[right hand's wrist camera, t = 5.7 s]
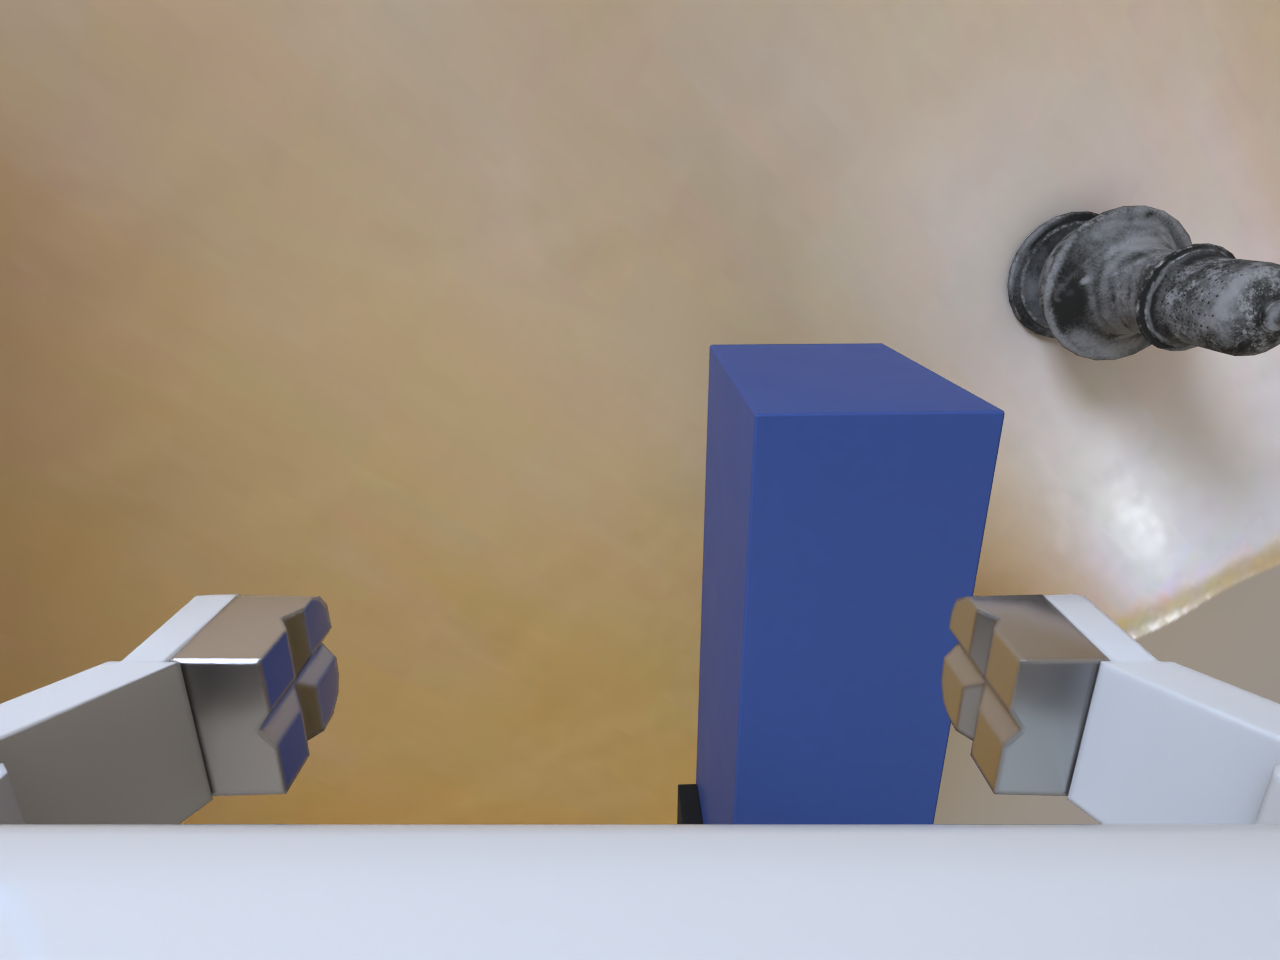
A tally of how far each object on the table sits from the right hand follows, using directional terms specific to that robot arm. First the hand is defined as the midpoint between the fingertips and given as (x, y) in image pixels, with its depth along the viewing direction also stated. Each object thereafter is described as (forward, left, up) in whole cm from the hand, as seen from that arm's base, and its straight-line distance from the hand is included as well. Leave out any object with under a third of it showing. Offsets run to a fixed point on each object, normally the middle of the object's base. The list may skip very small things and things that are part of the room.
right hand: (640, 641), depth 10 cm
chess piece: (-2, +19, -25) cm, 32 cm away
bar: (+10, +5, -15) cm, 19 cm away
